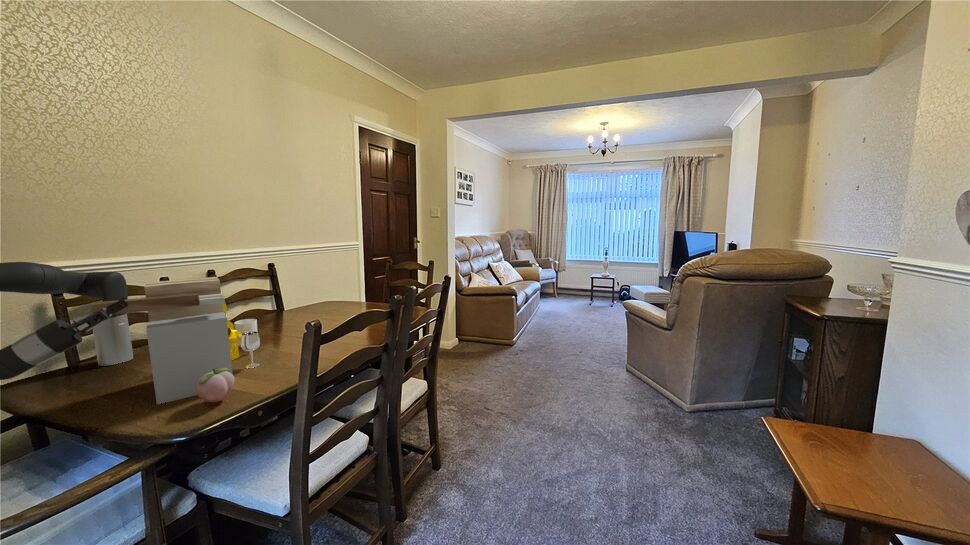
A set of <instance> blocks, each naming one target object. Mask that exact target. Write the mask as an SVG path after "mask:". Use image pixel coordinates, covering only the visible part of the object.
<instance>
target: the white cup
mask: <svg viewBox="0 0 970 545" xmlns="http://www.w3.org/2000/svg"><path fill="white" fill-rule="evenodd" d="M233 325H234V330H237V331H238V332H239V333H241V334H243V333H246V332H252V331H255V332H257V333H258V320H257V319H256V318H245V319H240V320H237V321H235V322H234V323H233ZM237 343H238V348H241V340H239V339H237Z"/></svg>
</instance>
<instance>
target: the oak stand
mask: <svg viewBox="0 0 970 545" xmlns="http://www.w3.org/2000/svg"><path fill="white" fill-rule="evenodd" d="M221 290H222V289H221V281H220V279H219V278H218V276H209V277H198V278H185V279H174V280H173V279H171V280H160V281H159V280H158V281H147V282H146V283H145V285H144V294H145V298H150V297H161V296H172V295H183V294H194V293H198V294H199V296H202V295H213V294H222V292H221ZM220 312H223V307H222V304H221V305H211V306H202V307H200V305H198V306H189V307H179V308H170V309H161V310H151V311H147V315H148V322H152V321H160V320H167V319H175V318H182V317H190V316H198V315H205V314H213V313H220Z"/></svg>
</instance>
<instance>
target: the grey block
mask: <svg viewBox="0 0 970 545" xmlns="http://www.w3.org/2000/svg"><path fill="white" fill-rule="evenodd" d="M227 319H228V318H227V314H226V315H225V313H224V312H220V313H213V314H205V315H198V316H190V317H182V318H175V319H167V320H160V321H152V322H149V321H147V325H146V328H145V329H146V336H147V337H146V338H147V343H148V350H149V351H148V352H149V358H150V365H151V372H152V379H153V385H154V386H153V388H154V393H155V394H154V395H155V399H156V400H155V401H156V405H157V404H158V405H161V403H162V404H166V403H169V402H174V401H178V400H182V399H186V398H191V397H195V396H198V394H197V392H196V389H195V387H196V383H197V382H198V380H199V379H200V378H201V377H202V376H203V375H205V374H207V373H209V372H213V369H215V370H217V369H220V368H228V369H230V370H226V371H227V372H230V373H231V374H232V375H233V376H234V374H233V365H232V364H233V363H232V361H231V354H230V345H229V336H228V326H227ZM165 402H166V403H165Z"/></svg>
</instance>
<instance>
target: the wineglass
mask: <svg viewBox="0 0 970 545" xmlns="http://www.w3.org/2000/svg"><path fill="white" fill-rule="evenodd" d="M260 345H261V339H260V335H259V333H258V331H257V332H255V331H252V332H246V333H243V334H242V335H241V347H240V348H241V349H242V350H243V351H245V352H249V356H250V361H251V363H250V364H247V365H245V366H244V367H245V369H248V368H250V369H255V368H258V367H259V365H261V364H260V363H258V362H257V363H255V362H254V359H253V357H254V352H253V351H256V350H257V349H258V348H259V347H260ZM257 366H258V367H257ZM254 367H255V368H254Z"/></svg>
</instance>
